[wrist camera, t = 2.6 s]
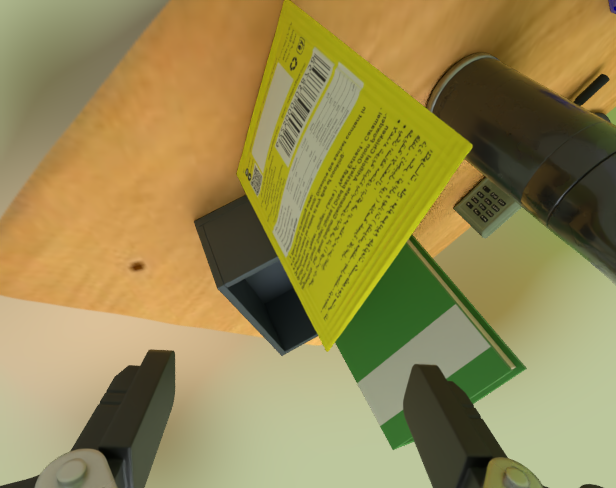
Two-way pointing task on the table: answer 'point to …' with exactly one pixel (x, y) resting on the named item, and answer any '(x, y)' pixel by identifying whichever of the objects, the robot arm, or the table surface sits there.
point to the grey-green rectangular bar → (491, 199)
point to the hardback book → (420, 339)
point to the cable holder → (612, 6)
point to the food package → (339, 168)
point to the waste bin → (253, 275)
